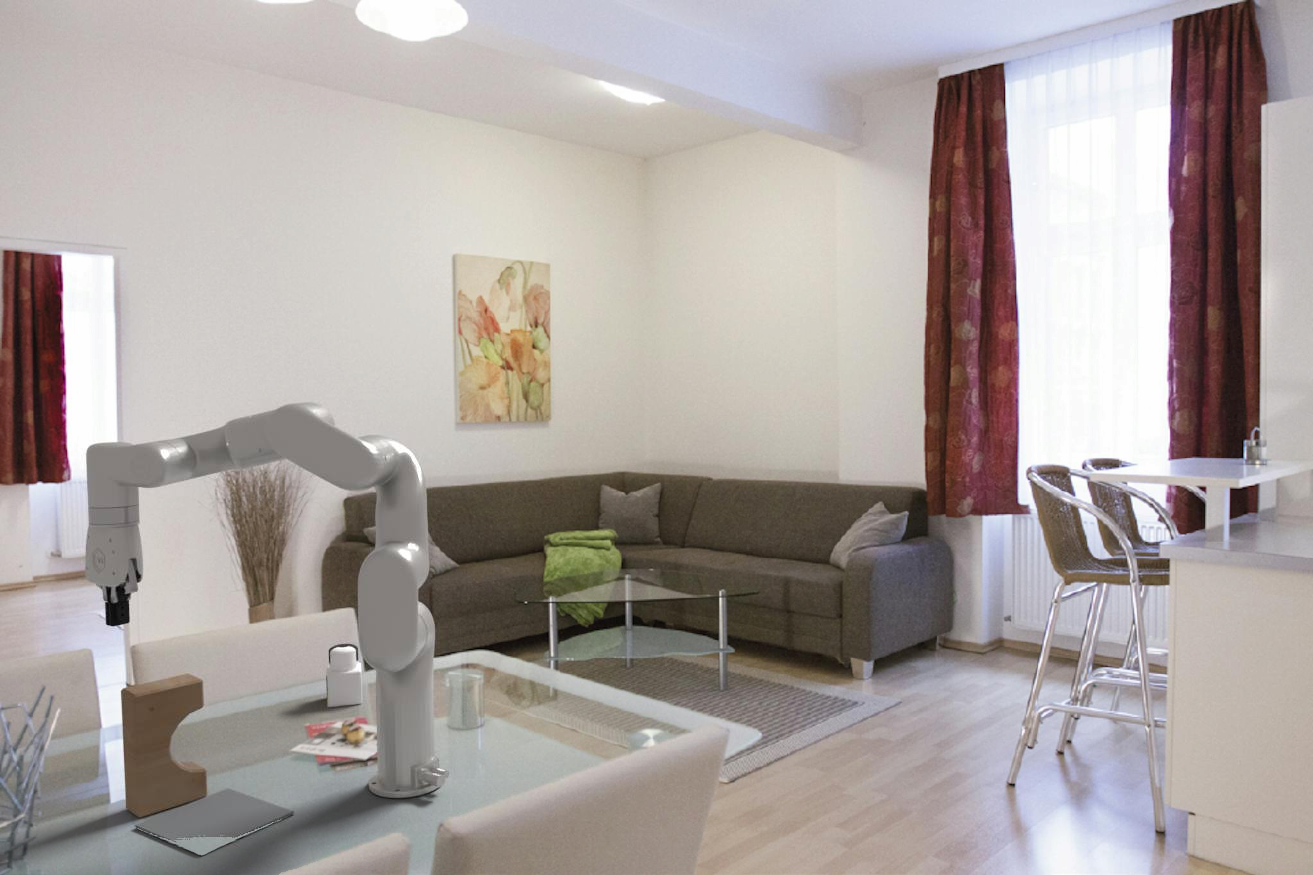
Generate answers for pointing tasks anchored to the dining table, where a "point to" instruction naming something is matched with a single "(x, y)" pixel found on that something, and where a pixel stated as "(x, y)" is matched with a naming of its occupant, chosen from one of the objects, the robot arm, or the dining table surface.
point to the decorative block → (159, 745)
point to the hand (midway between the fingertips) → (117, 624)
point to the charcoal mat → (215, 817)
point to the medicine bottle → (343, 676)
